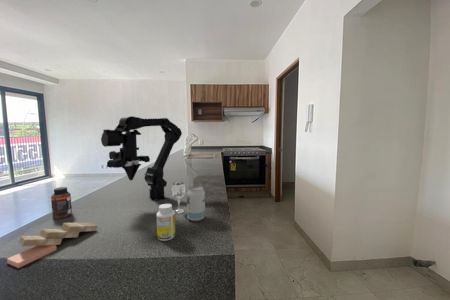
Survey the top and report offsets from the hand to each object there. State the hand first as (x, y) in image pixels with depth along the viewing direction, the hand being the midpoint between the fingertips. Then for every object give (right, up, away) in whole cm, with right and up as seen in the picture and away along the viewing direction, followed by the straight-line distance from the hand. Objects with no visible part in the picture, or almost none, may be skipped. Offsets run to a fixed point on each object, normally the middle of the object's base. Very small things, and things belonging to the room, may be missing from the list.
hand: (131, 180), depth 86 cm
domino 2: (-8, -14, -31) cm, 35 cm away
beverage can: (+31, -13, -12) cm, 36 cm away
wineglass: (+23, -13, -5) cm, 26 cm away
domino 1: (-8, -13, -28) cm, 32 cm away
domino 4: (-3, -13, -20) cm, 24 cm away
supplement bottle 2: (+23, -14, -25) cm, 37 cm away
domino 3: (-6, -13, -24) cm, 28 cm away
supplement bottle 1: (-23, -13, -9) cm, 28 cm away
